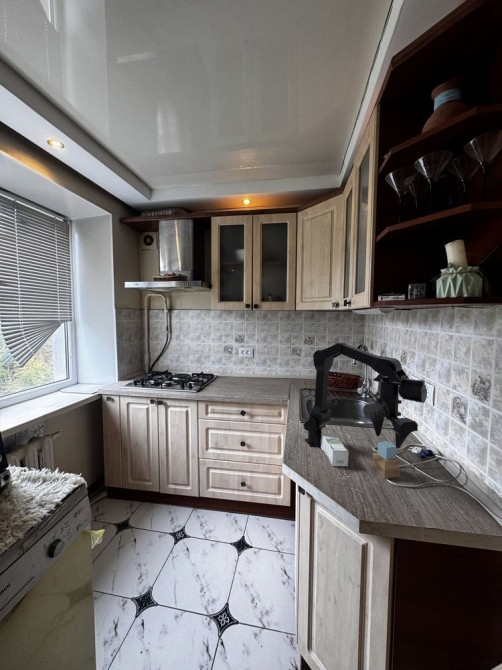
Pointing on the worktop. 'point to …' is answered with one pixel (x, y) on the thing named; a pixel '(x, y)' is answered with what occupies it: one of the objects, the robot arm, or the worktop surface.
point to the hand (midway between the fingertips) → (387, 441)
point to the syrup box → (334, 450)
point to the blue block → (387, 450)
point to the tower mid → (385, 462)
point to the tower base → (386, 471)
